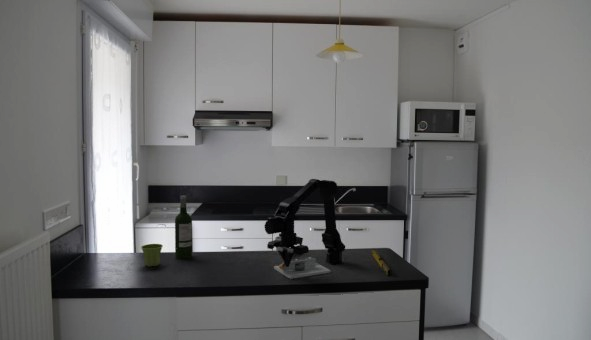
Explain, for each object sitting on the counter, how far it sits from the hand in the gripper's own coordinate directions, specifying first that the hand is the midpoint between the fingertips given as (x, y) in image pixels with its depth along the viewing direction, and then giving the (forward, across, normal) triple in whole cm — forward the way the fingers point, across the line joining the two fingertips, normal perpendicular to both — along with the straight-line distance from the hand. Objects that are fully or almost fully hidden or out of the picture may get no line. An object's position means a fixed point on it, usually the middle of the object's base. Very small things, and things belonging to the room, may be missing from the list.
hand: (287, 266), depth 182 cm
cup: (+3, +23, -24) cm, 34 cm away
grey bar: (+2, -1, -6) cm, 7 cm away
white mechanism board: (+4, -1, -9) cm, 10 cm away
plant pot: (+3, +57, +29) cm, 64 cm away
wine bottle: (+3, +56, +11) cm, 58 cm away
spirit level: (+4, -24, -40) cm, 47 cm away
